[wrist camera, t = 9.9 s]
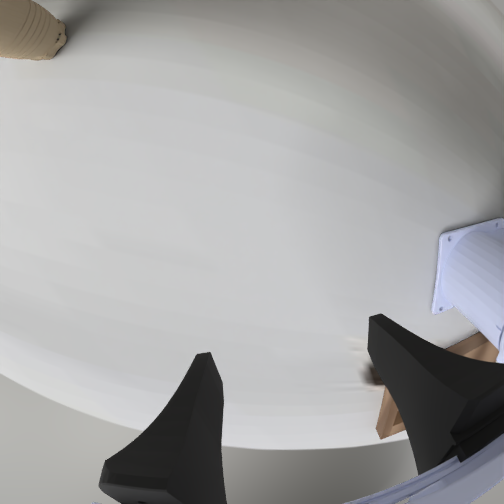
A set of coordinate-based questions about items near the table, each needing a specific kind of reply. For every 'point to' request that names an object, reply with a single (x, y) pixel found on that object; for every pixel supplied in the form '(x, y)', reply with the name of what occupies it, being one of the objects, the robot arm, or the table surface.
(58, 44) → the handle
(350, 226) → the table surface
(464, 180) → the table surface
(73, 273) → the table surface
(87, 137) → the table surface
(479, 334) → the slotted walnut block
